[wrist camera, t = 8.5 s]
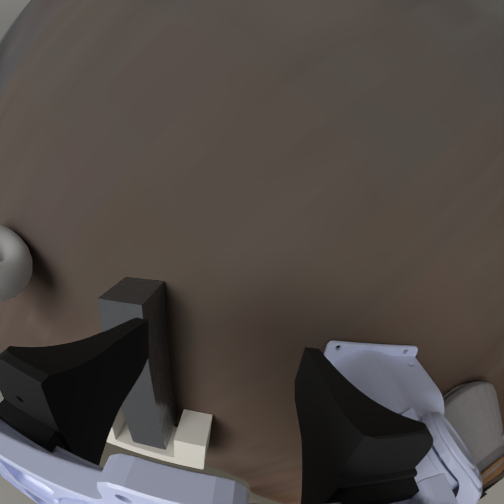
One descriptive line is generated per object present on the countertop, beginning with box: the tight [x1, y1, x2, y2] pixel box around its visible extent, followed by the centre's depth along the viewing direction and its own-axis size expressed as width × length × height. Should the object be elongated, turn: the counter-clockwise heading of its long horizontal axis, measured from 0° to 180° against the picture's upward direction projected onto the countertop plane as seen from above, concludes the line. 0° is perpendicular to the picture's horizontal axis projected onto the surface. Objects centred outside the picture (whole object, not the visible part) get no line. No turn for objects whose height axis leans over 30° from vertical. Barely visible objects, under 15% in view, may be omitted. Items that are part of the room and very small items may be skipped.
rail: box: [98, 277, 177, 450], centre depth 22 cm, size 4×16×5 cm, turn 176°
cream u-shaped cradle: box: [106, 407, 212, 469], centre depth 24 cm, size 12×5×4 cm, turn 81°
